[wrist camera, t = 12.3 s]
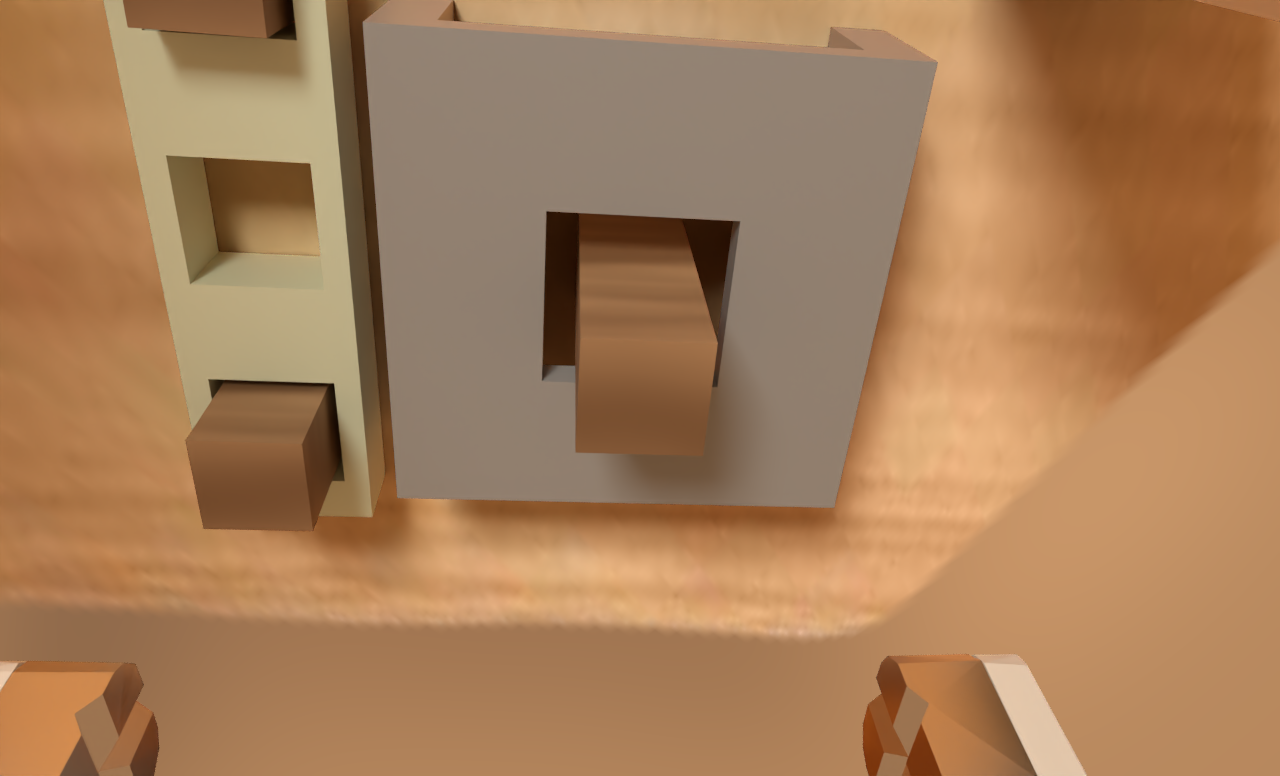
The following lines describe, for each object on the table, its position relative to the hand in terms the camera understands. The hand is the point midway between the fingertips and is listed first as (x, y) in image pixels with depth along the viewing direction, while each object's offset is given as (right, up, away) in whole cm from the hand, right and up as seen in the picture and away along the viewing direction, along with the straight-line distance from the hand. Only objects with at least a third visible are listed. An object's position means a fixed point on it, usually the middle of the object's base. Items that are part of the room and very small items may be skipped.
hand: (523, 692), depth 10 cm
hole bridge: (+1, +8, +19) cm, 21 cm away
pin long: (+1, +8, +19) cm, 21 cm away
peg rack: (-10, +9, +18) cm, 22 cm away
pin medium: (-10, +3, +21) cm, 24 cm away
